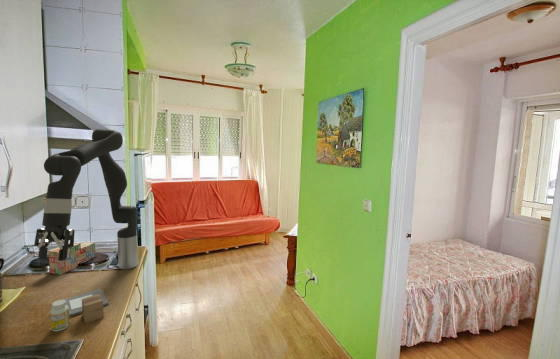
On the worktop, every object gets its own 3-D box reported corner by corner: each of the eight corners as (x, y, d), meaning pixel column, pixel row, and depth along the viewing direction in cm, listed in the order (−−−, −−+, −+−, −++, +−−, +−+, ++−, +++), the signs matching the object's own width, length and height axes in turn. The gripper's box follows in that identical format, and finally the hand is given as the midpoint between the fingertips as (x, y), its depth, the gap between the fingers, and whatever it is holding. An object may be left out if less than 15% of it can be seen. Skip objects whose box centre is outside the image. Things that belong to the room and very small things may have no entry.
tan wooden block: (82, 315, 109) (81, 299, 108) (100, 309, 113) (99, 293, 112) (85, 323, 105) (84, 306, 104) (103, 317, 109) (102, 300, 108)
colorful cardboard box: (87, 256, 162) (85, 236, 160) (96, 258, 160) (95, 237, 159) (49, 273, 141) (47, 250, 139) (60, 275, 140) (58, 251, 138)
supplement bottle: (60, 332, 99) (58, 307, 98) (47, 331, 100) (45, 306, 98) (73, 323, 104) (71, 299, 103) (60, 321, 105) (59, 297, 104)
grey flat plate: (56, 303, 116) (56, 300, 116) (101, 290, 127) (101, 288, 127) (59, 320, 106) (59, 317, 106) (108, 304, 116) (108, 302, 116)
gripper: (83, 212, 99) (79, 259, 97) (52, 212, 103) (47, 257, 101) (63, 212, 92) (57, 262, 90) (30, 211, 95) (24, 260, 93)
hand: (52, 259), depth 95 cm, fingers open, 8 cm apart
